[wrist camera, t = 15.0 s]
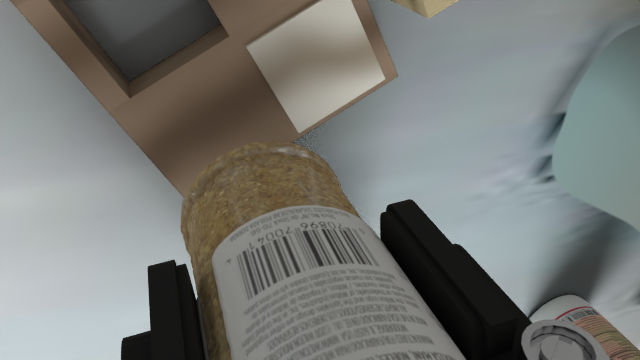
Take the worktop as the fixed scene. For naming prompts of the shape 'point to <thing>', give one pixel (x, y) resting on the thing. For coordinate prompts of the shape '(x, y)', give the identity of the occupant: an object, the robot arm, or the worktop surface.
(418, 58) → the worktop surface
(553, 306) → the fruit juice
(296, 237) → the sprinkles bottle
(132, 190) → the worktop surface
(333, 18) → the brown wooden frame
